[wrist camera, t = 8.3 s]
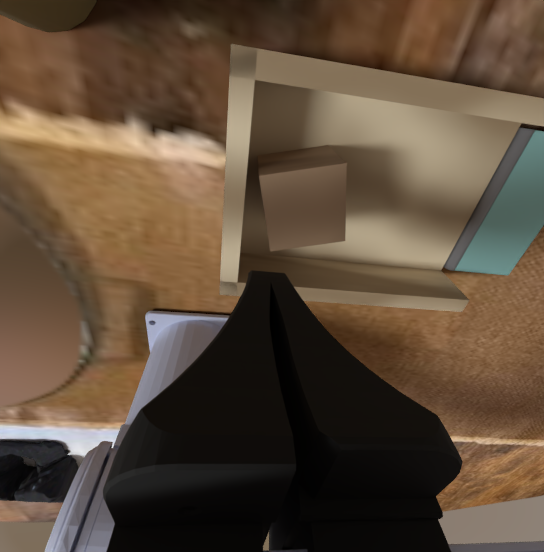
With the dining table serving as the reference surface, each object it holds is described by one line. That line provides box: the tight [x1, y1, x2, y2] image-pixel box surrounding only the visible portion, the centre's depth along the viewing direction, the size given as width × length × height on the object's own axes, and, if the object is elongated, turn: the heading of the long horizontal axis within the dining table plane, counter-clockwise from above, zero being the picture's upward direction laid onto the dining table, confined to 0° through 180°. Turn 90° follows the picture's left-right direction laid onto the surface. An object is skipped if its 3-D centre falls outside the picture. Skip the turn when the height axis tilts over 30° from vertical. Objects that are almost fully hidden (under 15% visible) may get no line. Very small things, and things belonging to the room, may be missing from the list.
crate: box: [220, 44, 544, 312], centre depth 17 cm, size 12×16×4 cm
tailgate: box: [444, 127, 544, 275], centre depth 20 cm, size 9×1×5 cm
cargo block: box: [258, 145, 347, 251], centre depth 16 cm, size 4×4×4 cm
